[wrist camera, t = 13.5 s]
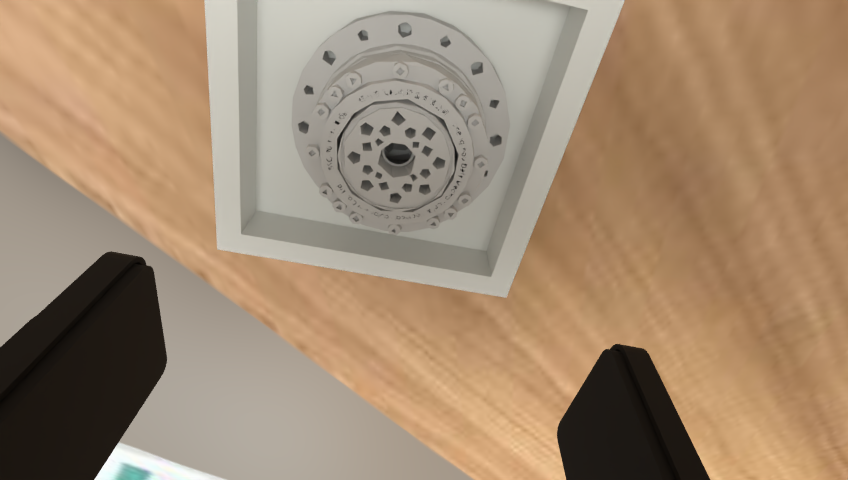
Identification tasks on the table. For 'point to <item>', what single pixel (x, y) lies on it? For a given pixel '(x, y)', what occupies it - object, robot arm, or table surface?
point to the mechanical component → (400, 121)
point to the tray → (369, 247)
